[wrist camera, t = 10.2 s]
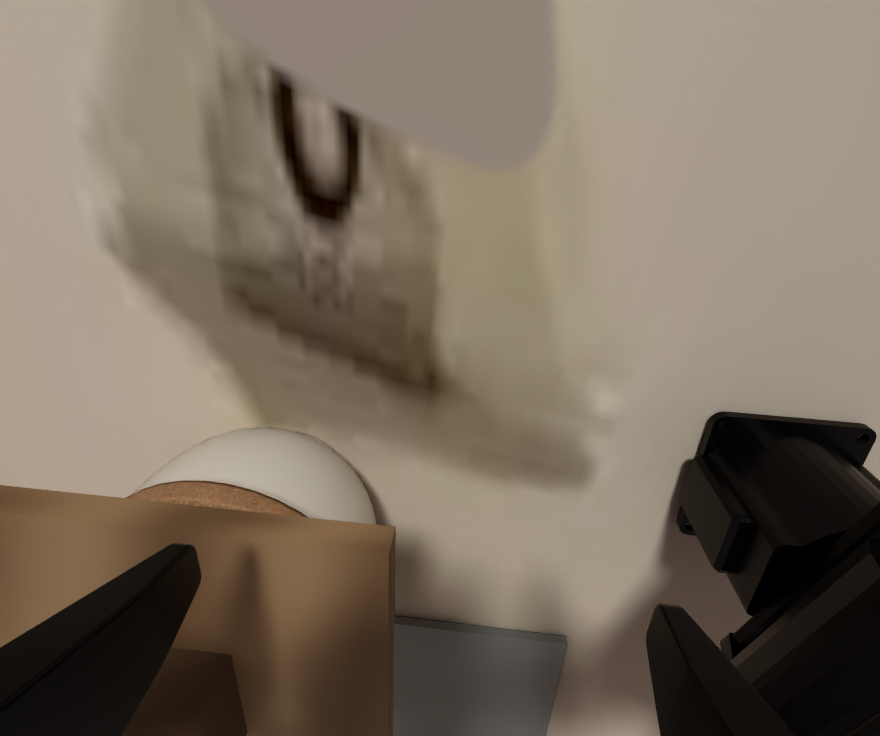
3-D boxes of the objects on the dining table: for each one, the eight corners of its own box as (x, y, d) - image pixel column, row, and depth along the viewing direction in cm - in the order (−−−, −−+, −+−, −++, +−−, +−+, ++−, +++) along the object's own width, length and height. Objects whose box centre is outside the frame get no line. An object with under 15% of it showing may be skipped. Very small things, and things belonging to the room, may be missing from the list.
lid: (395, 526, 13) (354, 698, 9) (392, 790, 19) (366, 965, 15) (-71, 477, 14) (-294, 616, 10) (63, 745, 20) (-45, 899, 16)
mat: (566, 636, 28) (567, 644, 28) (532, 780, 34) (532, 789, 34) (224, 595, 29) (219, 602, 29) (253, 742, 36) (250, 749, 35)
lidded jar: (249, 572, 28) (146, 758, 20) (152, 414, 24) (-29, 565, 16) (426, 543, 26) (395, 739, 18) (353, 364, 22) (267, 507, 14)
